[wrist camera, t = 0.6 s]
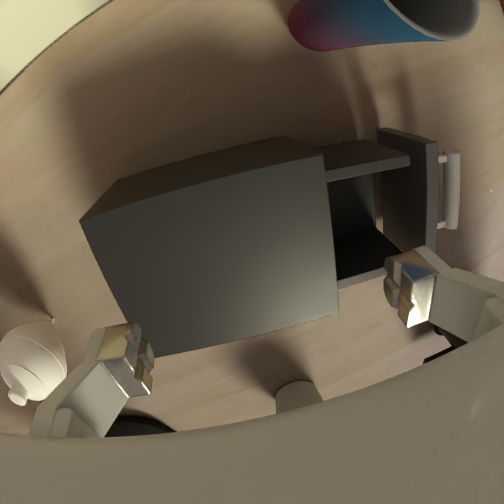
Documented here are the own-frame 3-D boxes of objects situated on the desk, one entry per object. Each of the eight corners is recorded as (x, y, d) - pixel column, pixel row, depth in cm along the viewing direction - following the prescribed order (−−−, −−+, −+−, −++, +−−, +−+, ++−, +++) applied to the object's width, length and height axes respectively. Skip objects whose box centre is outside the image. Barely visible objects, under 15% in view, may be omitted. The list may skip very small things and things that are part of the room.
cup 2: (280, -16, 19) (355, -105, 5) (356, 1, 20) (474, -46, 7) (274, 54, 22) (356, 9, 9) (351, 68, 23) (480, 62, 10)
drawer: (426, 123, 25) (479, 137, 18) (428, 221, 30) (471, 253, 23) (236, 154, 24) (248, 177, 18) (262, 265, 29) (279, 315, 23)
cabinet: (285, 135, 25) (322, 154, 17) (305, 255, 31) (339, 313, 23) (116, 180, 25) (78, 220, 17) (159, 292, 30) (148, 359, 22)
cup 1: (308, 366, 38) (328, 420, 31) (335, 398, 43) (353, 443, 35) (257, 392, 39) (268, 445, 32) (290, 419, 44) (303, 465, 36)
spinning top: (14, 301, 28) (-31, 376, 18) (57, 281, 28) (10, 364, 18) (51, 349, 32) (22, 426, 21) (96, 334, 32) (69, 422, 21)
